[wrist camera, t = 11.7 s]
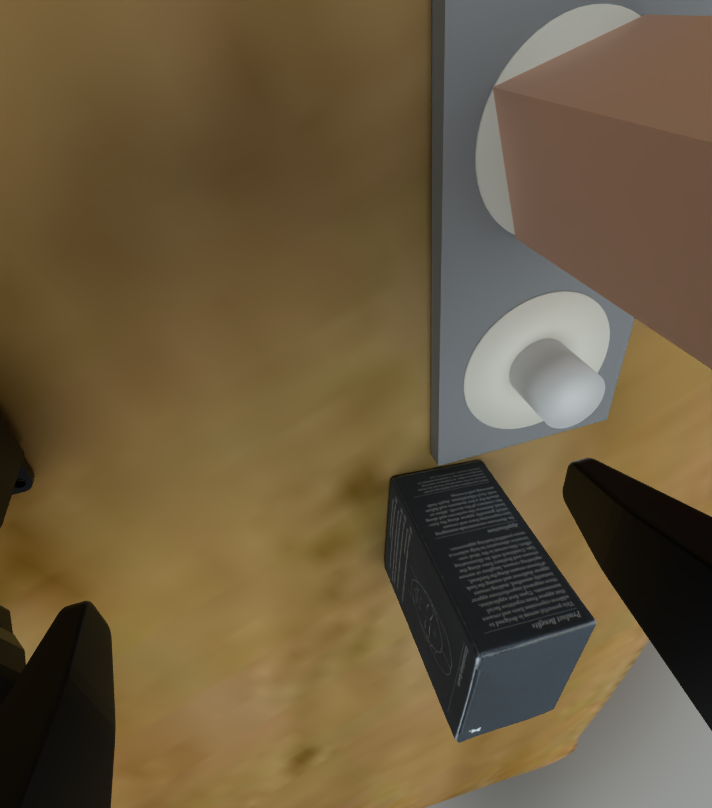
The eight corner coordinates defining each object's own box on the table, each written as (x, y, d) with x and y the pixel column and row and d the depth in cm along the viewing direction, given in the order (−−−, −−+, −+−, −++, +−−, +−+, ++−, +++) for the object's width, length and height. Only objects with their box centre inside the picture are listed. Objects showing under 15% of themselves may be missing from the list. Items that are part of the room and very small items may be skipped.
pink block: (515, 238, 21) (794, 425, 12) (492, 87, 17) (869, 182, 8) (642, 177, 21) (1022, 316, 12) (645, 14, 17) (1198, 26, 8)
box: (464, 545, 34) (556, 712, 26) (381, 564, 33) (451, 746, 25) (484, 455, 30) (603, 625, 22) (388, 474, 28) (478, 662, 20)
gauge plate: (430, 453, 28) (463, 508, 25) (432, -28, 16) (496, -35, 13) (595, 408, 30) (644, 454, 27) (714, -58, 17) (830, -72, 14)
